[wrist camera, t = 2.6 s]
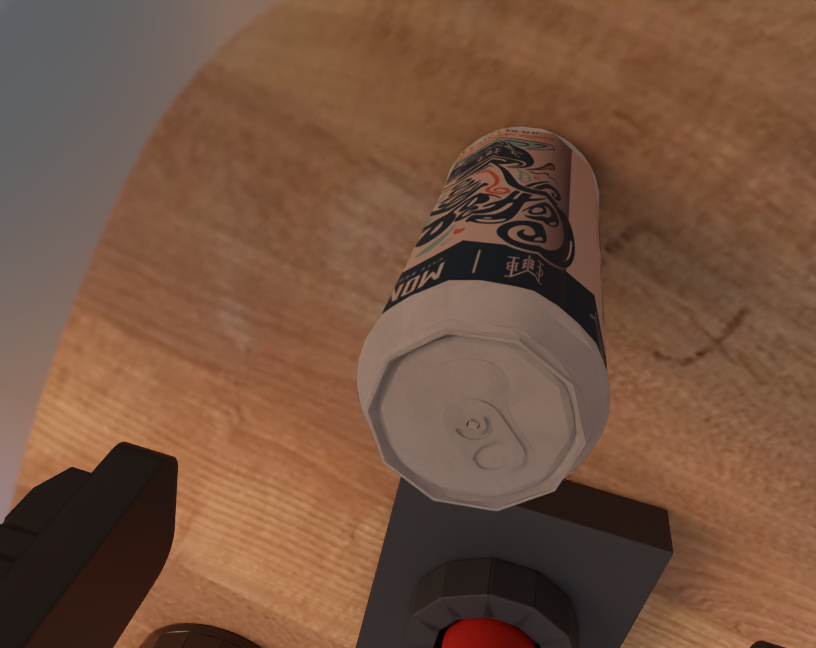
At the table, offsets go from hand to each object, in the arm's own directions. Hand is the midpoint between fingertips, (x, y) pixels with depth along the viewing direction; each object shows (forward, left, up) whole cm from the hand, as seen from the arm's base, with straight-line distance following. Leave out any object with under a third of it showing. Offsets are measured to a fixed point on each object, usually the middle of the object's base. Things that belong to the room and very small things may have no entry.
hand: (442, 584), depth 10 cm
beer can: (0, 0, -16) cm, 16 cm away
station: (+16, -5, -16) cm, 23 cm away
